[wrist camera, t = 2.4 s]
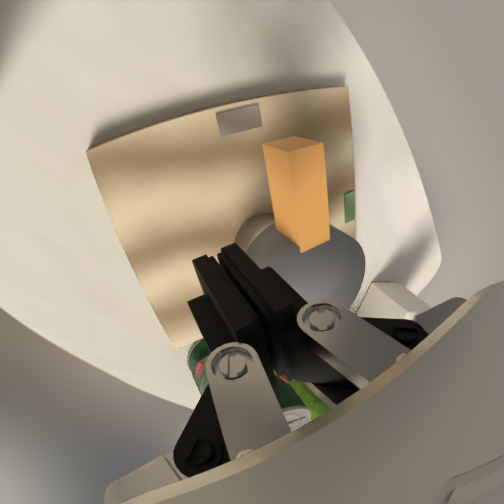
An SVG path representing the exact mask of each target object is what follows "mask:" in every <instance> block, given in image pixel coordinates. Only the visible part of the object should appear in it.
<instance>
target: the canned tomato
mask: <svg viewBox="0 0 504 504" xmlns="http://www.w3.org/2000/svg"><path fill="white" fill-rule="evenodd" d="M210 354H211V353H210V351H209V349H208V347H207V345H206V343H205V341H204V339H203V338H202V339H199V340H197V341H196V342H195V343H194V344H193V346H192V347H191V349H190V351H189V353H188V357H187V363H188V367H189V369H190V370H191V372H192V375H193V378H194V380H195V382H196V385H197V387H198V389H199V391H200V393H201V396H202V394H203V392H204V390H205V388H206V386H207V384H208V383H209V382H208V378H207V374H206V361H207V359H208V357H209V355H210ZM273 371H274V370H273ZM274 375H275V379H276V383H277V387H278V392H277V395H276V398H277V400H278V403H279V405H280V407H281V409H282V412H283V414H284V416H285V418H286V420H287V423H288V425H289V427H290V429H291V431H294V430H296V429H298V428H299V427H301V426H303V425H305V424H306V423H308V422H309V421H310V419H311V415H312V413H311V410H310V409H309V408H308V407H307V406H306V405H305V404H304V402H303V401H302V399H301V398H300V396H299V395H298V394H297V393H296V391H295V390H294V389H293V388H292V386H291V384H290V383H289V382H288V381H287V379H286V378H285V377H284V375H282V376H280V377H279V376H278V375H277V374H276V373H275V371H274Z"/></svg>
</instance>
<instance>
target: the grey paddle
mask: <svg viewBox="0 0 504 504" xmlns="http://www.w3.org/2000/svg"><path fill="white" fill-rule="evenodd" d="M262 146H263V152H264V158H265V163H266V169H267V175H268V181H269V187H270V193H271V199H272V206H273V212H274V218H275V222H274V223H273V224H271V225H269V226H268V227H267V228H266V229H264V230H263V231H262V232H261V233H260V234H259V235H258V236H257V237H256V238H255V239H254V241H253V242H252V243H251V244H250V246H249V247H248V249H247V250H246V252H245V253H246V254H247V255H248V256H249V257H250V258H251V259H252V260H253V261H254V262H255V263H256V265H257V266H258V267H259V268H260V269H263V268H265V267H268V266H270V267H271V268H273V269H274V270H275V271H276V272H277V273H278V274H279V275H280V276H281V277H282V278H283V279H284V280H285V281H286V282H287V283H288V284H289V285H290V286H291V287H292V288H293V289H294V290H295V291H296V292H297V293H298V294H299V295H300V296H301V297H302V298H303V299H304V300H305V301H306V302H308V303H310V302H312V301H316V300H330V301H334V302H336V303H338V304H340V305H342V306H343V307H345V308H346V309H348V308H349V307H350V306H351V304H352V303H353V301H354V300H355V298H356V296H357V294H358V292H359V290H360V287H361V285H362V282H363V278H364V274H365V256H364V252H363V250H362V248H361V246H360V244H359V243H358V242H357V241H356V240H355V239H354V238H352V237H351V236H349V235H347V234H346V233H344V232H343V231H341V230H339V229H338V228H336V227H334V226H333V225H331V224H329V210H328V194H327V180H326V168H325V157H324V146H323V143H322V142H318V141H314V140H310V139H305V138H301V137H297V136H292V137H288V138H284V139H280V140H276V141H273V142H269V143H265V144H262Z"/></svg>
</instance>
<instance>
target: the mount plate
mask: <svg viewBox="0 0 504 504" xmlns="http://www.w3.org/2000/svg"><path fill="white" fill-rule="evenodd" d="M292 136H297V137H301V138H305V139H310V140H314V141H318V142H322V143H323V146H324V157H325V168H326V180H327V194H328V210H329V224H331V225H333V226H334V227H336V228H338V229H339V230H341V231H343V232H344V233H346V234H347V235H349V236H351V237H352V238H354V239H355V178H354V156H353V140H352V127H351V116H350V106H349V97H348V88H347V87H342V86H333V87H323V88H314V89H306V90H298V91H291V92H285V93H278V94H272V95H267V96H261V97H256V98H251V99H246V100H241V101H236V102H232V103H228V104H223V105H219V106H215V107H211V108H207V109H203V110H199V111H196V112H192V113H188V114H185V115H181V116H178V117H175V118H171V119H168V120H165V121H162V122H159V123H156V124H153V125H150V126H147V127H144V128H141V129H138V130H135V131H132V132H130V133H127V134H124V135H122V136H119V137H116V138H114V139H111V140H109V141H106V142H104V143H101V144H99V145H97V146H94V147H92V148H90V149H88V150H87V151H86V154H87V157H88V160H89V163H90V166H91V169H92V172H93V175H94V177H95V180H96V183H97V186H98V188H99V191H100V194H101V196H102V199H103V201H104V204H105V206H106V209H107V211H108V214H109V216H110V219H111V221H112V224H113V226H114V228H115V231H116V233H117V235H118V238H119V240H120V242H121V244H122V247H123V249H124V251H125V253H126V256H127V258H128V260H129V262H130V264H131V266H132V268H133V270H134V273H135V275H136V277H137V279H138V281H139V283H140V285H141V287H142V289H143V291H144V293H145V295H146V297H147V299H148V301H149V303H150V304H151V306H152V308H153V310H154V312H155V314H156V316H157V318H158V319H159V321H160V323H161V325H162V327H163V329H164V330H165V332H166V334H167V336H168V337H169V339H170V341H171V343H172V344H173V346H174V348H175V350H176V349H178V348H181V347H183V346H185V345H188V344H190V343H192V342H195V341H197V340H199V339H202V338H203V337H202V334H201V332H200V330H199V328H198V326H197V324H196V321H195V319H194V317H193V315H192V312H191V310H190V308H189V306H188V303H187V301H189V300H192V299H194V298H196V297H199V296H201V295H203V294H204V293H203V290H202V288H201V285H200V282H199V280H198V277H197V274H196V271H195V269H194V266H193V263H192V260H193V259H196V258H198V257H200V256H203V255H205V254H206V255H207V256H208V257H211V256H214V258H215V259H216V260H217V262H218V263H219V261H218V258H217V254H218V253H221V248H222V247H225V246H227V245H230V244H232V243H236V244H237V245H238V246H239V247H240V248H241V249H242V250H243V251H244V252H246V250H247V249H248V247H249V246H250V244H251V243H252V242H253V241H254V239H255V238H256V237H257V236H258V235H259V234H260V233H261V232H262V231H263V230H264V229H266V228H267V227H268V226H269V225H271V224H273V223H274V222H275V218H274V212H273V206H272V199H271V193H270V187H269V181H268V175H267V169H266V163H265V158H264V152H263V146H262V144H265V143H269V142H273V141H276V140H280V139H284V138H288V137H292Z"/></svg>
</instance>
